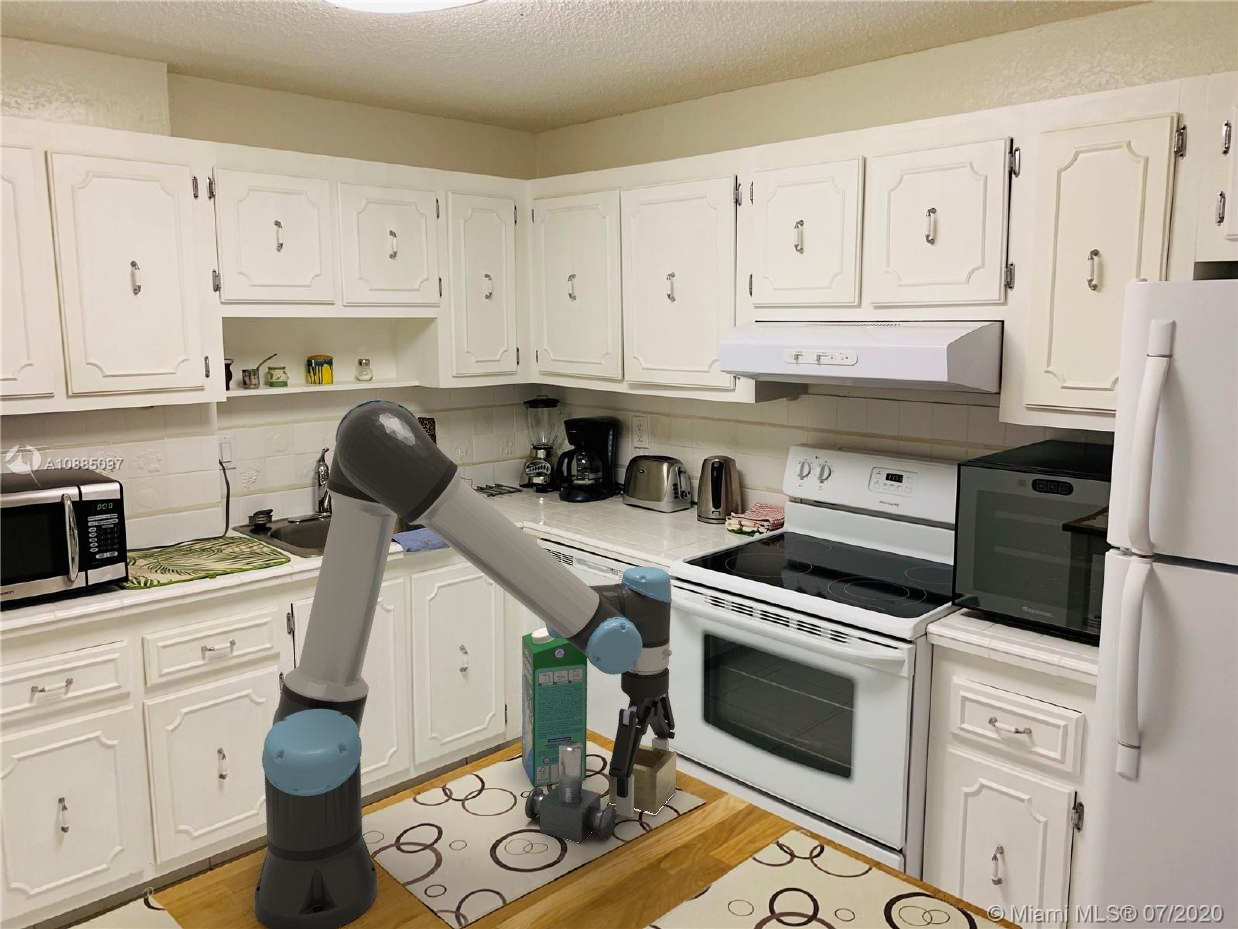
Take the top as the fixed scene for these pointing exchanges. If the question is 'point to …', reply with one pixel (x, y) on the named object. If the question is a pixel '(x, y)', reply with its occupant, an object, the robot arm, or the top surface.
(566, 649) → the milk carton
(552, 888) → the top surface
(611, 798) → the collar
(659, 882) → the top surface
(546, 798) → the valve
